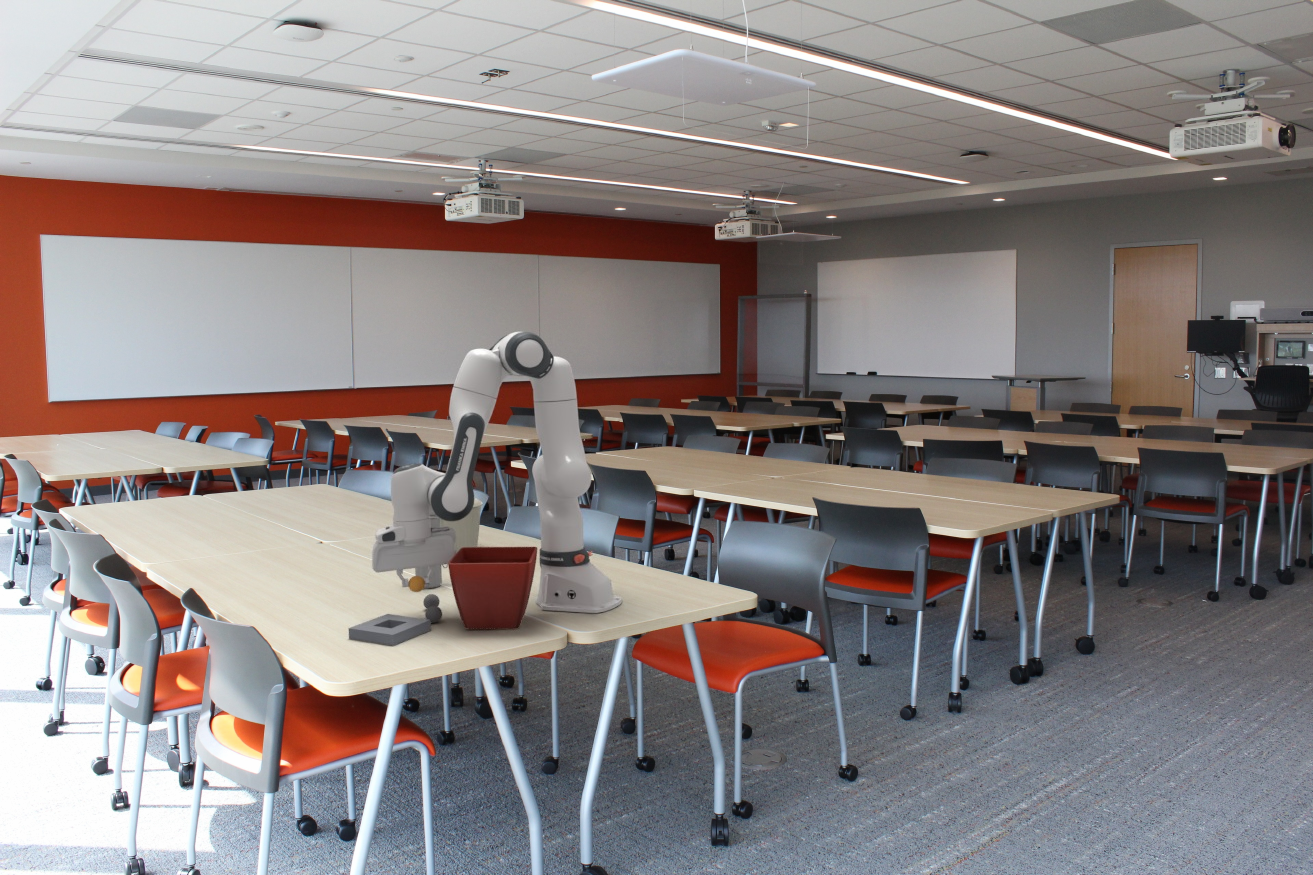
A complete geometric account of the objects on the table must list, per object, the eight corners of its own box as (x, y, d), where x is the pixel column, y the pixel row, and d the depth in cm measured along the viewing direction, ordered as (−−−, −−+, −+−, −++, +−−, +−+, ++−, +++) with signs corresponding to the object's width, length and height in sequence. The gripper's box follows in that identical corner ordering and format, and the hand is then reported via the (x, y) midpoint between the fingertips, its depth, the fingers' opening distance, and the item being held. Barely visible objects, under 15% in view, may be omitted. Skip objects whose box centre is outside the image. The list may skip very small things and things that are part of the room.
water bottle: (415, 590, 260) (412, 500, 258) (415, 583, 267) (412, 496, 265) (449, 587, 262) (447, 499, 260) (448, 581, 270) (445, 495, 268)
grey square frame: (430, 630, 222) (430, 619, 222) (393, 645, 210) (392, 634, 210) (388, 623, 228) (387, 613, 227) (349, 638, 216) (348, 628, 216)
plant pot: (539, 611, 238) (537, 545, 236) (532, 633, 219) (530, 562, 217) (463, 612, 237) (461, 546, 236) (449, 635, 218) (446, 563, 216)
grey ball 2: (445, 621, 229) (445, 605, 229) (435, 625, 226) (434, 609, 225) (432, 619, 231) (432, 603, 231) (422, 623, 228) (421, 607, 227)
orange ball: (428, 590, 233) (427, 574, 233) (418, 594, 230) (417, 578, 229) (416, 589, 235) (415, 573, 234) (405, 593, 231) (404, 577, 231)
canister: (489, 556, 303) (487, 491, 301) (432, 561, 296) (430, 495, 294) (478, 545, 320) (476, 484, 318) (424, 550, 313) (422, 487, 311)
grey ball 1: (443, 608, 241) (442, 593, 241) (432, 612, 237) (432, 596, 237) (430, 606, 243) (430, 591, 242) (420, 610, 239) (419, 595, 239)
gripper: (453, 523, 237) (457, 576, 238) (369, 532, 230) (373, 587, 232) (457, 527, 231) (461, 582, 232) (370, 536, 224) (374, 593, 226)
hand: (416, 585), depth 232 cm, fingers closed on orange ball, 4 cm apart
